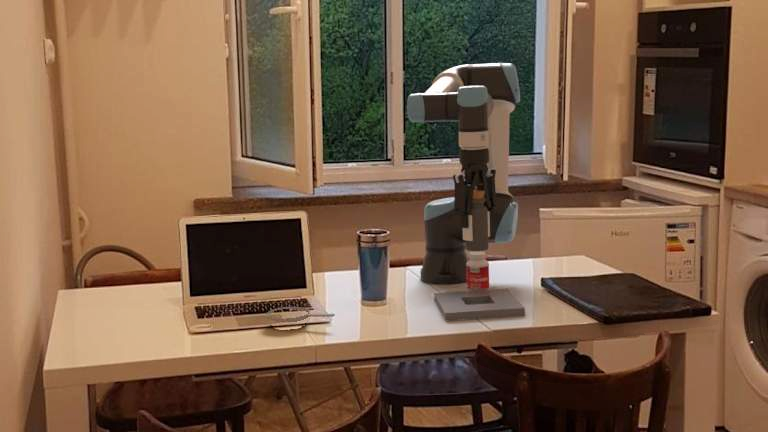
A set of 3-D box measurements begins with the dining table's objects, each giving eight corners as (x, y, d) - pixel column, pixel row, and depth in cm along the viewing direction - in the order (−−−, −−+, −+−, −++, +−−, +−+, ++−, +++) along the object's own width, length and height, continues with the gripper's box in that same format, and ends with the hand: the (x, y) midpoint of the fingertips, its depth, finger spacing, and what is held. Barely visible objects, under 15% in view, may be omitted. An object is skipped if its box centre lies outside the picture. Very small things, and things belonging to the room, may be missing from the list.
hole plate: (445, 321, 246) (445, 313, 246) (434, 300, 266) (434, 293, 266) (524, 315, 248) (524, 307, 248) (508, 295, 268) (507, 288, 267)
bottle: (487, 251, 251) (485, 192, 248) (464, 251, 252) (462, 193, 249) (489, 246, 256) (488, 189, 254) (466, 246, 258) (465, 189, 255)
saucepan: (279, 318, 256) (278, 304, 255) (343, 323, 249) (343, 308, 248) (259, 330, 246) (258, 315, 245) (325, 335, 239) (325, 320, 238)
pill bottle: (468, 295, 270) (467, 255, 268) (465, 289, 276) (464, 250, 274) (491, 294, 270) (490, 254, 268) (487, 288, 276) (486, 249, 274)
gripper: (459, 152, 241) (461, 246, 245) (510, 144, 253) (511, 233, 257) (437, 151, 246) (440, 242, 250) (487, 143, 259) (490, 230, 263)
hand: (476, 237), depth 254 cm, fingers closed on bottle, 6 cm apart
